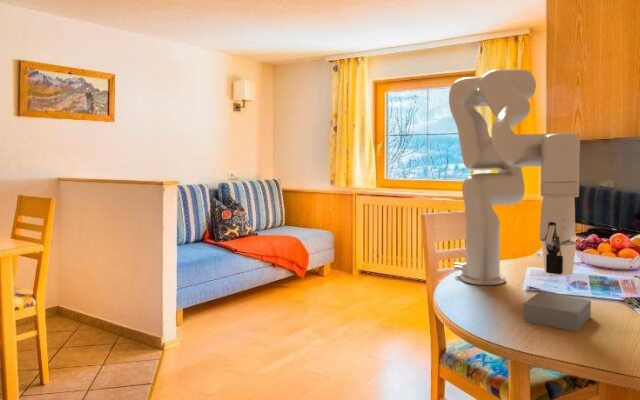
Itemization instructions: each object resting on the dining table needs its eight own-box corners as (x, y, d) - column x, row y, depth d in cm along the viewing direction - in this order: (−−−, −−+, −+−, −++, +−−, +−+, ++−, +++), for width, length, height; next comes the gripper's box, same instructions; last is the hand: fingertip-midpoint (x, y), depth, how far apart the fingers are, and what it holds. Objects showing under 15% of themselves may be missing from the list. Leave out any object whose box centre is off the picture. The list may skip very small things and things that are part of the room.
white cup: (562, 277, 101) (563, 245, 100) (534, 271, 107) (535, 241, 106) (582, 273, 104) (583, 242, 103) (554, 267, 110) (555, 237, 109)
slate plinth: (523, 320, 106) (523, 303, 106) (539, 307, 114) (539, 291, 114) (577, 331, 99) (577, 313, 99) (590, 317, 107) (590, 300, 107)
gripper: (553, 186, 113) (552, 261, 114) (528, 192, 100) (527, 276, 102) (588, 187, 108) (587, 265, 109) (566, 193, 95) (565, 281, 97)
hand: (558, 269), depth 105 cm, fingers closed on white cup, 5 cm apart
